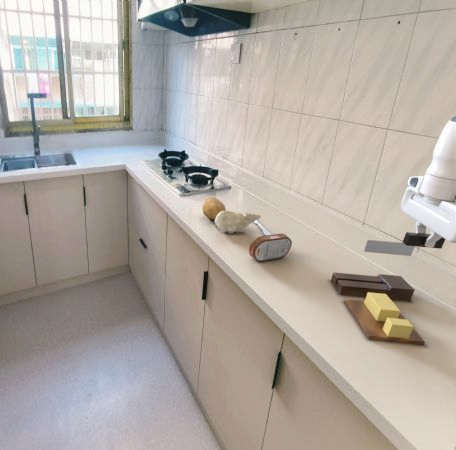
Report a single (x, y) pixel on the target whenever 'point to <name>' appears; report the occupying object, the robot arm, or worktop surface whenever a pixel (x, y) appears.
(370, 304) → the butter
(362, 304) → the board
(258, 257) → the tin
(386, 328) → the butter pat
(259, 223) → the butter knife
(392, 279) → the knife stand
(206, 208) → the potato
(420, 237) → the knife
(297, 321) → the worktop surface
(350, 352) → the worktop surface
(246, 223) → the cream lumpy tapered piece
